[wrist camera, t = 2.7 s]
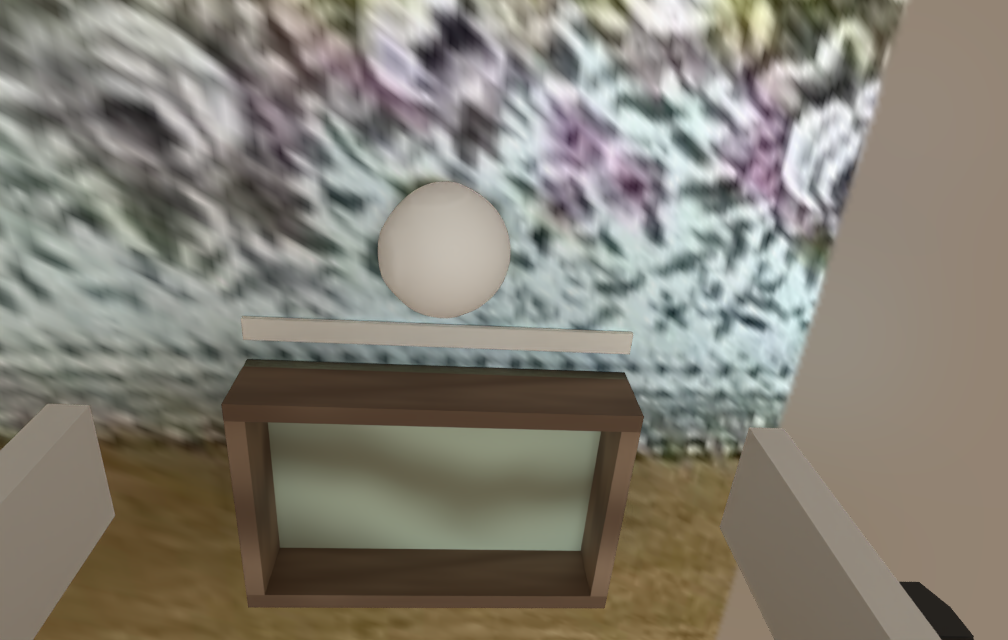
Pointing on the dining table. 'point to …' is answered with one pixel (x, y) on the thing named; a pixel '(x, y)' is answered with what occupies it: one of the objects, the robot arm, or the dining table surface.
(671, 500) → the dining table surface
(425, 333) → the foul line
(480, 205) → the cream egg
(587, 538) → the brown wooden tray
